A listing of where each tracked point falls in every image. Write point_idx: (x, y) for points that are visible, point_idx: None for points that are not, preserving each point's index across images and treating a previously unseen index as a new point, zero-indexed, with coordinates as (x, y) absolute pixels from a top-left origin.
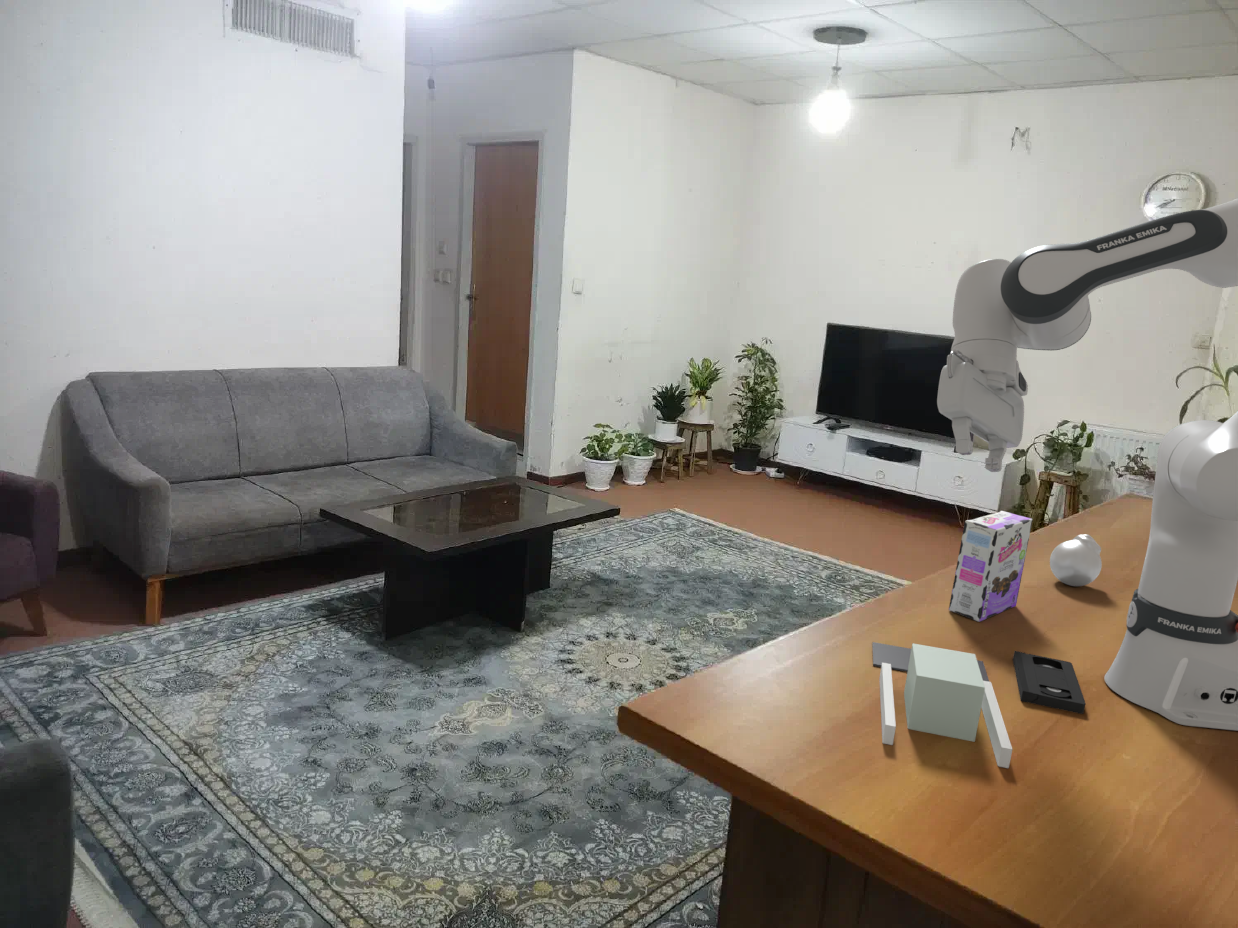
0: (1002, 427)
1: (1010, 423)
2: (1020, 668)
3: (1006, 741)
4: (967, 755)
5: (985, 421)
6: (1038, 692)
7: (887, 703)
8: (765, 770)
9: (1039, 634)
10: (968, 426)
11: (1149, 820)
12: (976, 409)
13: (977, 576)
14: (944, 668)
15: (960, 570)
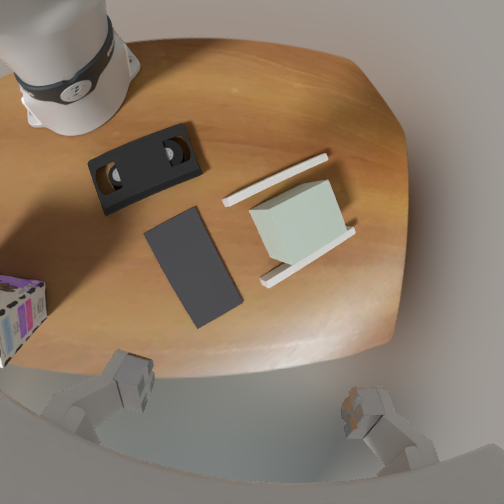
0: (119, 488)
1: (11, 480)
2: (148, 193)
3: (319, 158)
4: None
5: (348, 490)
6: (191, 162)
7: (330, 246)
8: (400, 263)
9: (22, 222)
10: (422, 441)
11: (306, 78)
12: (442, 490)
13: (27, 308)
14: (320, 219)
15: (29, 331)
